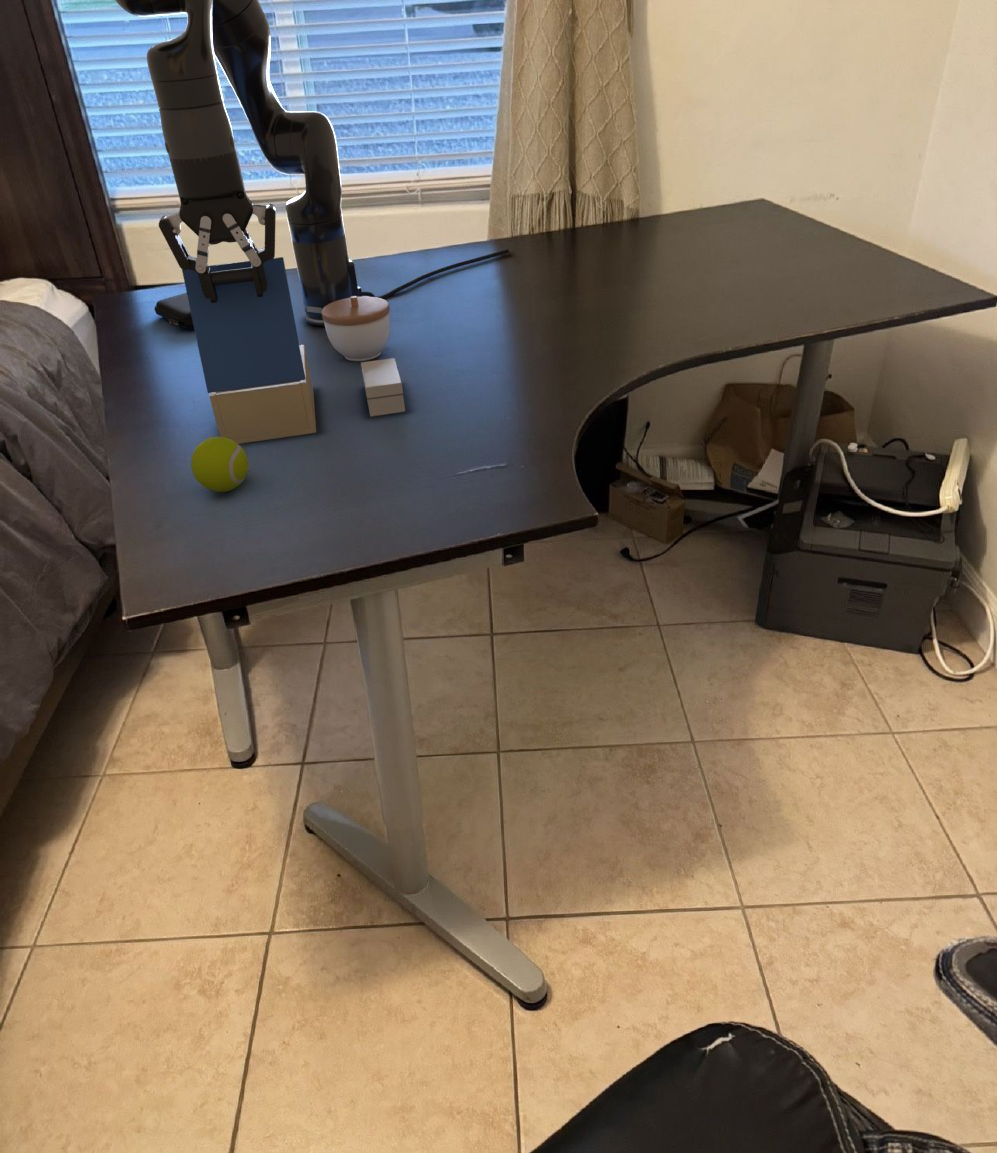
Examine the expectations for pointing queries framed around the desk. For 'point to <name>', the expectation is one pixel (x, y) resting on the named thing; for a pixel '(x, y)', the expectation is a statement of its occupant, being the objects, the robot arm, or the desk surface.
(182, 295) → the carrying case
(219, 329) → the blue lid
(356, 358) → the white bowl with lid
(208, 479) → the tennis ball
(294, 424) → the storage box
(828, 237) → the desk surface
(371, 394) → the beige case
